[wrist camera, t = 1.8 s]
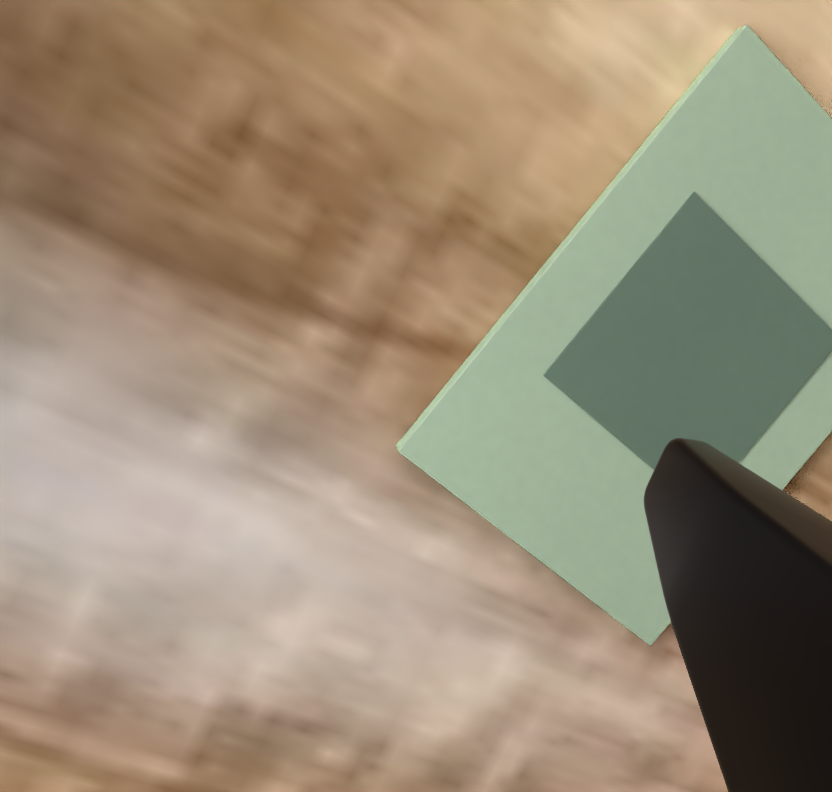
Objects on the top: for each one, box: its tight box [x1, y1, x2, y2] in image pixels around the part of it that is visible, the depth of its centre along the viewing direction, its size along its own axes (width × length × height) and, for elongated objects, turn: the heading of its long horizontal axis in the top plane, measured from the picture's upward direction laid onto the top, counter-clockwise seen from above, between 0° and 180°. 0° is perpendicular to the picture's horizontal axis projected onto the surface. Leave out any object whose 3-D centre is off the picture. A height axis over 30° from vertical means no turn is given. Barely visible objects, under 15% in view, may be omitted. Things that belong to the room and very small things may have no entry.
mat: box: [396, 25, 832, 646], centre depth 25 cm, size 16×11×1 cm
